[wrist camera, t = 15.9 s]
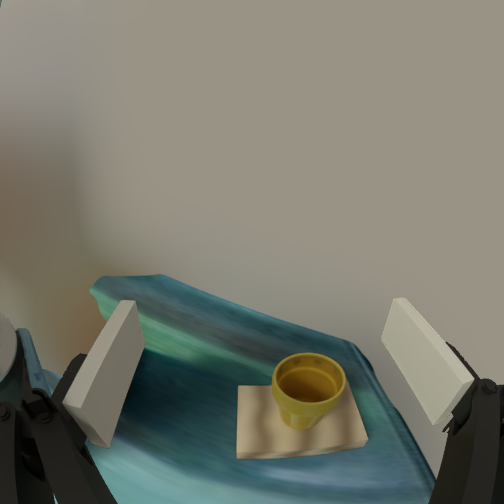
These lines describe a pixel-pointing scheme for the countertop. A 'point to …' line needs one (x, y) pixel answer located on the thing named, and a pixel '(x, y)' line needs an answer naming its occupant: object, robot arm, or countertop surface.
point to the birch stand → (289, 439)
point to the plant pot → (307, 388)
